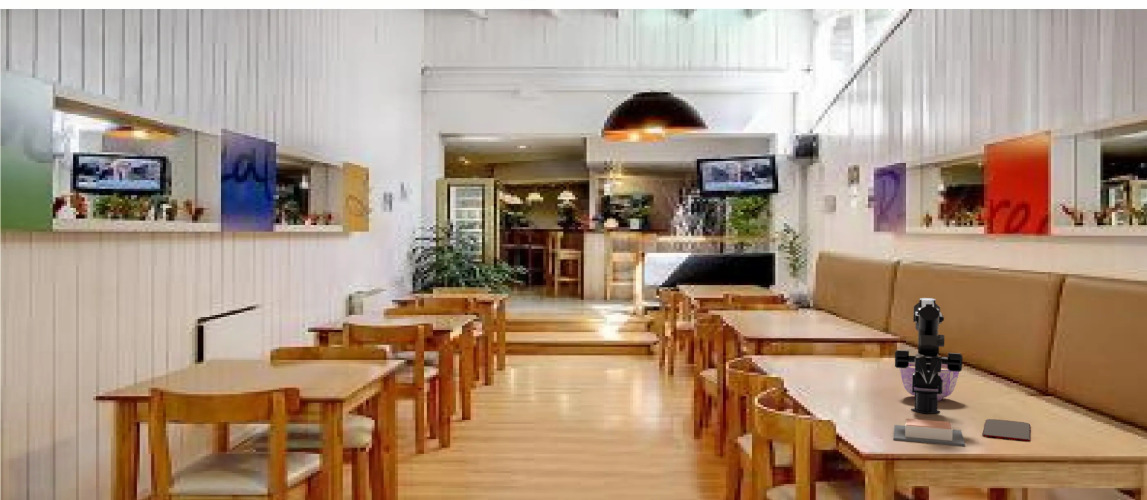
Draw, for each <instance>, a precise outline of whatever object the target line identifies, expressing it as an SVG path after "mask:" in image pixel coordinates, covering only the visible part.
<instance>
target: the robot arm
mask: <svg viewBox="0 0 1147 500" xmlns="http://www.w3.org/2000/svg"><path fill="white" fill-rule="evenodd" d="M944 319H945V316H944V315H943V314H942V312H941V307H940V306H939V305H938V304H937V302H936V298H933V297H921V298H919V302H918V303H916V304H915V305H914V306H913V319H912V320H913V321H912V322H914V324H915V327H914V328H915V329H916V330H917V332H918V333H917V335H918V336H917V337H918V338H917V353H915V355H910V351H909V350H903V349H897V350H895V352H894V367H895V369H900V368H907V367H909V363H915V374H913V377H912V393H914V392H915V396H914V407H913V408H910V411H913V412H918V413H921V414H926V415H927V414H939V413H941V410H938V404H939V402H938V399H937V394H942V386H943V380H942V379H941V375H938V372H941V366H942V364H947V369H948V370H949V371H956V372H959V373H960V372H962V371H963V354H961V353H957V352H955V353H954V352H948V353H947V356H939V355H940V347H941V348H942V347H943V348H944V347H945V334H939V327H940V325H942V323H943V322H944V321H945V320H944ZM914 387H915V388H920V389H915V388H914ZM929 389H935V390H929ZM936 389H938V390H936Z"/></svg>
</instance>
